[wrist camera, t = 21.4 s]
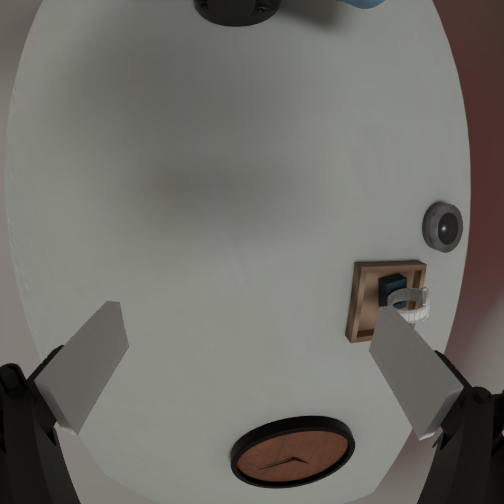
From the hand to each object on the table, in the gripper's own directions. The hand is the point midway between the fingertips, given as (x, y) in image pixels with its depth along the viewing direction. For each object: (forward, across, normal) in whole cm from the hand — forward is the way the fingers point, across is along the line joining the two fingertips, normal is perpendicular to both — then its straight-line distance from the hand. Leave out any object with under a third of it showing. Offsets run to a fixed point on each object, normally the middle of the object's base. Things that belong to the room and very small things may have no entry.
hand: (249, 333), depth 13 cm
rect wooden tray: (+30, +25, -13) cm, 41 cm away
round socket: (+32, +36, +1) cm, 48 cm away
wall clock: (+28, +12, -57) cm, 65 cm away
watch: (+30, +25, -11) cm, 41 cm away
